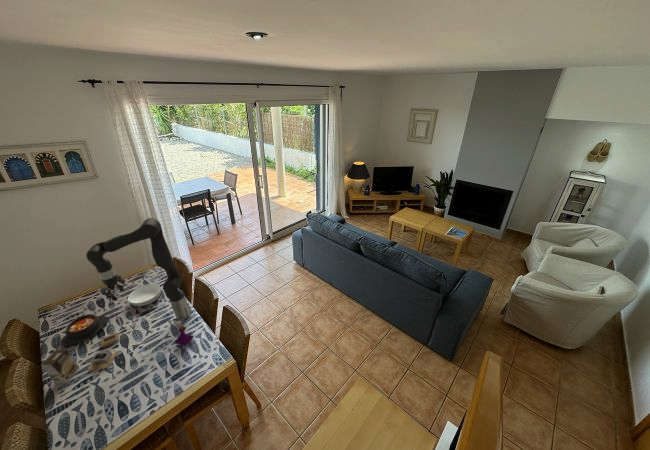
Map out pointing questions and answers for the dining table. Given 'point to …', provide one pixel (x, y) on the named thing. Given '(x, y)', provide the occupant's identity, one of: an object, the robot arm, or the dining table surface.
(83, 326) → the casserole
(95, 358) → the link
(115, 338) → the link
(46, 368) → the coffee box
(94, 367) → the keeper
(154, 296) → the serving bowl
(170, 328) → the dining table surface
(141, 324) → the dining table surface
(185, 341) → the perfume bottle
